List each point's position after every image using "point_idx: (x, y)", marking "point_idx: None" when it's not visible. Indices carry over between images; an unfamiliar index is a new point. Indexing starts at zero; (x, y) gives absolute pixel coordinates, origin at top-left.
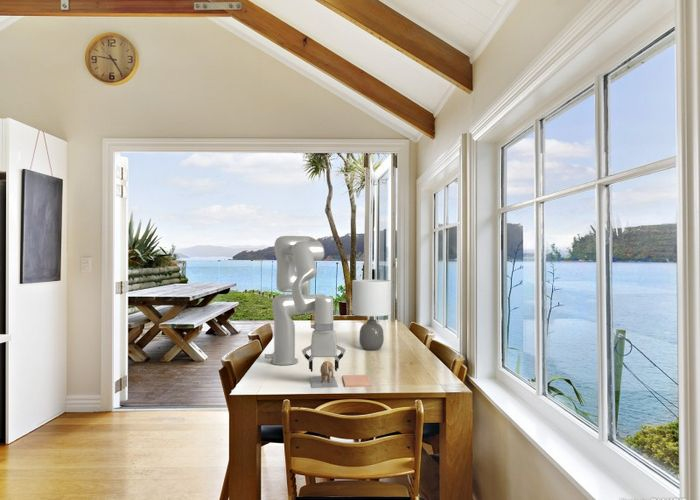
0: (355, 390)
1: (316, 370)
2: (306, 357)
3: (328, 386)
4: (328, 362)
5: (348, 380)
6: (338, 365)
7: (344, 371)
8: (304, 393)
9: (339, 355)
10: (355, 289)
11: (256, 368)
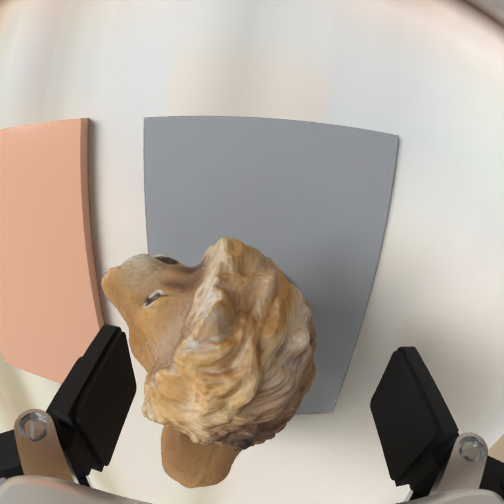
0: (40, 31)
1: (264, 484)
2: (501, 470)
3: (235, 132)
4: (173, 364)
5: (60, 277)
6: (67, 376)
7: (127, 454)
8: (453, 8)
9: (4, 472)
10: None
11: None
